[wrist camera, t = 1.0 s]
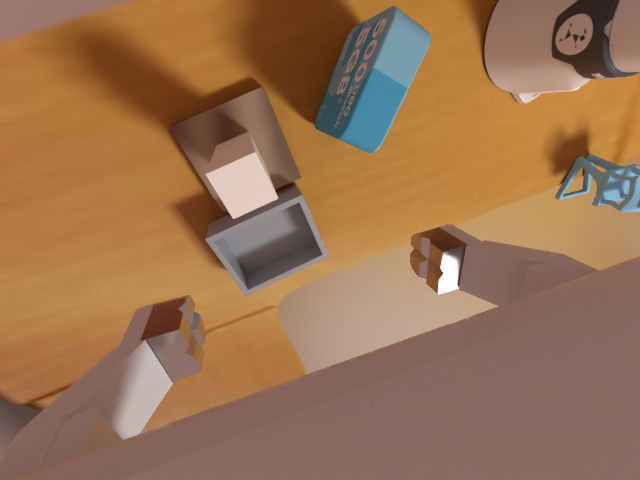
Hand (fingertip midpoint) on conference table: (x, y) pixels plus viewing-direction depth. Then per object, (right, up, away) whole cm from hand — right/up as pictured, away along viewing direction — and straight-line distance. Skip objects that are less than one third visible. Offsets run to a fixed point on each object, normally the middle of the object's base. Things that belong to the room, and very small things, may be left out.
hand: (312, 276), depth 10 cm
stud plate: (-10, +13, +26) cm, 31 cm away
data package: (+3, +22, +26) cm, 34 cm away
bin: (-8, +2, +33) cm, 34 cm away
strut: (-10, +12, +25) cm, 30 cm away
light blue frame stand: (+52, +14, +45) cm, 70 cm away
